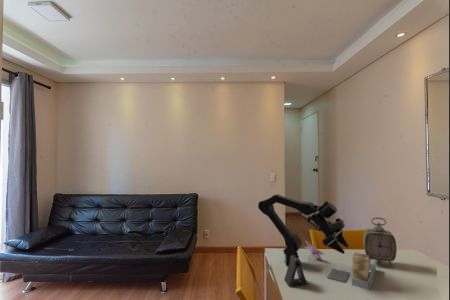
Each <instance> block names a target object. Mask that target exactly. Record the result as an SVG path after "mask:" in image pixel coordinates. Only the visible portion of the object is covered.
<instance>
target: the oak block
mask: <svg viewBox="0 0 450 300" xmlns="http://www.w3.org/2000/svg"><path fill="white" fill-rule="evenodd" d="M369 272H370V269H369V255H366V253H365V254H364V253H358V252H354V254H353V255H352V278H355V279H359V280H363V281H367V282H368V278H369Z"/></svg>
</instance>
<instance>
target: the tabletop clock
mask: <svg viewBox="0 0 450 300" xmlns="http://www.w3.org/2000/svg"><path fill="white" fill-rule="evenodd" d="M374 220H382V221H384V222H385V223H382V224H381V223H380V222H377V223H374V222H373V221H374ZM371 223H372V225H374V227H373V228H369V229H365V230H364V232H363V239H362V240H363V241H362V243H363V249H364V253H365V255H369V263H371V260H374V261H376V263H380V262H388V263H389V267H390V268H394V266H395V265H394V264H392V263H391V262H394V261H395V259H397V258H396V257H397V251H398V250H397V241H396V238H395V237H394V235H393V233H392V232H390V231H389V230H386V229H384V227H383V226H385V225H386V224H387V221H386V219H384V218H383V217H373V218H371Z"/></svg>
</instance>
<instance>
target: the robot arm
mask: <svg viewBox="0 0 450 300" xmlns="http://www.w3.org/2000/svg"><path fill="white" fill-rule="evenodd" d="M274 204H281V205H282V206H286V207H290V208H292V209H295V210H297V212H299V213H301V214H303V215H304V216H307V223H310V222H313V224H314V225H315V226H316V227H317V228H318V231H319V232H321V233H322V234H323V235H324V238H323V239H322V244H323V246H324V247H327V248H330V249H333V250H334V251H337V252H338V253H340V254H343V255H344V254H345V253H346V252H345V250H344V248H343V247H345V248H349V247H350V246H349V244H348V242H347V241H346V239H345V236H344V228H345V227H346V224H345V223H344V222H345V221H344V220H343V219H341V218H340V217H339V218H338V217H337V218H336V219H335V221H333V222H332V221H331V220H327V219H330V218H331V217H333V216H334V214H336V213H337V212H338V209H337V207H336V206H335V205H334V204H332V203H331V202H329V201H328V200H325V201H324V203H323V204H321V206H320V205H316V204H315V203H313V202H310V201H301V200H296V199H293V198H290V197H286V196H283V195H280V194H278V193H276V194H274V195H272V196H271V197H268V198H267V199H263V200H261V201H259V202H258V204H257V205H258V206H257V207H258V209H259V211H260V212H261V213H262V214H264V215H265V216H267V217H268V218H269V220H270V221H271V222H272V223H273V225H274V227H275V228H276V229H277V231H278V232H279V233H280V235H281V236H282V237H283V239H284V244H285V245H286V247H285V248H284V249H283V254H284V260H283V261H284V264H285V265H286V267H288V266H289V263H290V256H291V255H293V256H294V255H295V256H296V257H297V258H298V259H299V260H300V257H299V253H298V252H299V250H300V249H301V248H302V247H303V246H302V245H303V242H302V241H301V240H302V239H301V238H300V237H299V236H298V234H297V233H295V234H293V233H291V231H290V230H289V228H288V227H287V226H286V224H285V223H284V221H282V219H281V218H280V216H279V215H278V214H277V212H276V210H275V206H274ZM310 215H311V216H310ZM326 218H327V219H326ZM341 245H342V246H343V247H342V246H341ZM295 256H294V258H295Z"/></svg>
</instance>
